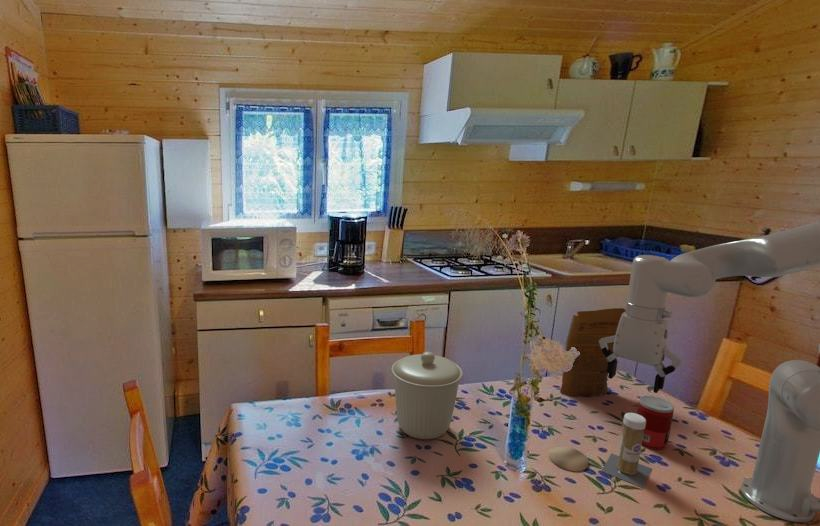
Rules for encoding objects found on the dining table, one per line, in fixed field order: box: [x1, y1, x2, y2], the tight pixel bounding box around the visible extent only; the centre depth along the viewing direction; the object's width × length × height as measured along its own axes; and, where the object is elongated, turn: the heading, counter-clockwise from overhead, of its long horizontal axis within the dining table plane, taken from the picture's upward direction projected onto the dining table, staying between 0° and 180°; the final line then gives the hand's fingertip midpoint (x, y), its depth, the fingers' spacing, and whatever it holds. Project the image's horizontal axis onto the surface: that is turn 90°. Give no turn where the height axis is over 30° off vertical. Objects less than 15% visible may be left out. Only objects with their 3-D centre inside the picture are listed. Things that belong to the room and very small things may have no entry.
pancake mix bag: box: [559, 307, 626, 397], centre depth 143 cm, size 7×19×28 cm, turn 101°
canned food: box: [636, 395, 675, 451], centre depth 120 cm, size 8×8×11 cm
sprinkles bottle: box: [617, 412, 646, 475], centre depth 108 cm, size 5×5×14 cm
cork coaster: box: [548, 445, 589, 472], centre depth 112 cm, size 9×9×1 cm
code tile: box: [601, 452, 652, 489], centre depth 109 cm, size 9×9×1 cm
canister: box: [390, 351, 464, 440], centre depth 120 cm, size 18×18×21 cm
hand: (633, 383), depth 107 cm, fingers open, 9 cm apart
